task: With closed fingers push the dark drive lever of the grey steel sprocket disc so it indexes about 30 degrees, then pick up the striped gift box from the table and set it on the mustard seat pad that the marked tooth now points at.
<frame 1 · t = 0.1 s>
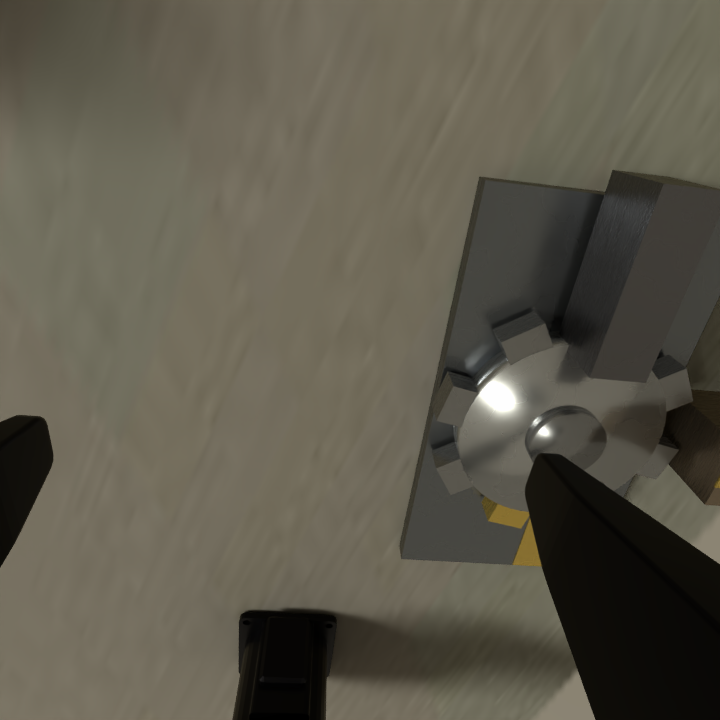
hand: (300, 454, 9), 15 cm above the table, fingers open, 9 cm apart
sprocket: (584, 390, 23), point 3 cm above the table, hinge at 0.0°
striped gift box: (689, 417, 27), on the table
base plate: (541, 405, 27), on the table
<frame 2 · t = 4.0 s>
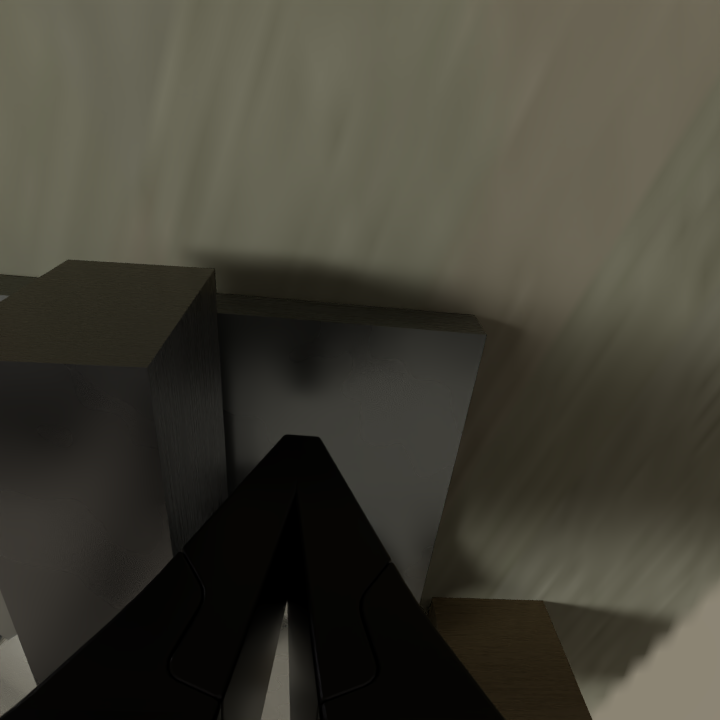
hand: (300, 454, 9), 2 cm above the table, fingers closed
sprocket: (168, 679, 11), point 3 cm above the table, hinge at 1.8°, touching gripper
striped gift box: (475, 633, 16), on the table
base plate: (207, 629, 15), on the table
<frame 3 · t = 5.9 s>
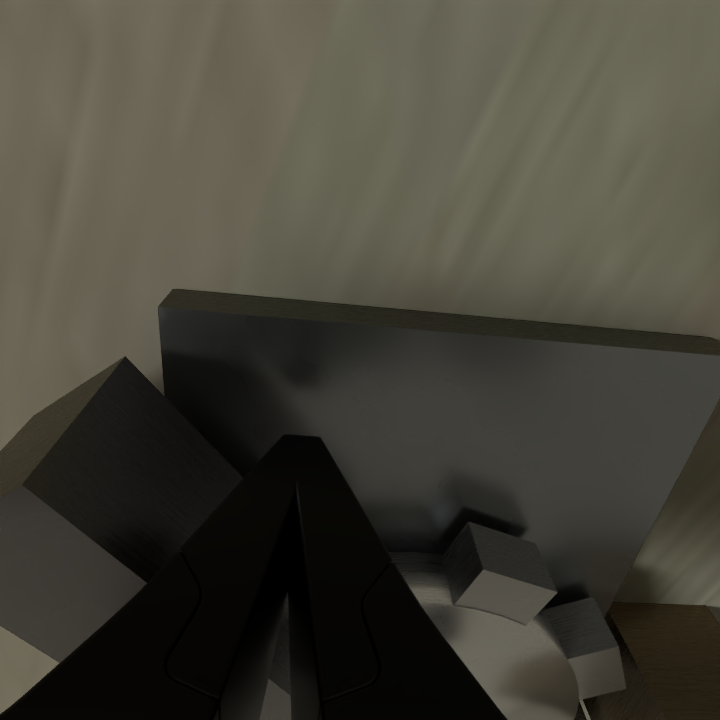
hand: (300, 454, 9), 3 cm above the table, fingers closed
sprocket: (337, 693, 12), point 3 cm above the table, hinge at 38.3°, touching gripper
striped gift box: (634, 637, 17), on the table
base plate: (385, 631, 16), on the table
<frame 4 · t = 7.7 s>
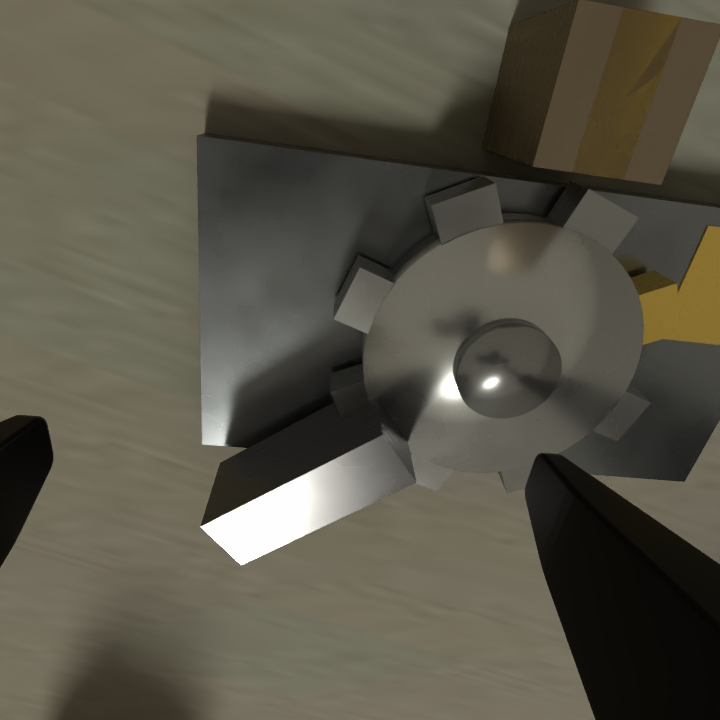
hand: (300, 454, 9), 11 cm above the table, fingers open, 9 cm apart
sprocket: (433, 406, 18), point 3 cm above the table, hinge at 38.3°
striped gift box: (546, 98, 16), on the table
base plate: (482, 332, 20), on the table
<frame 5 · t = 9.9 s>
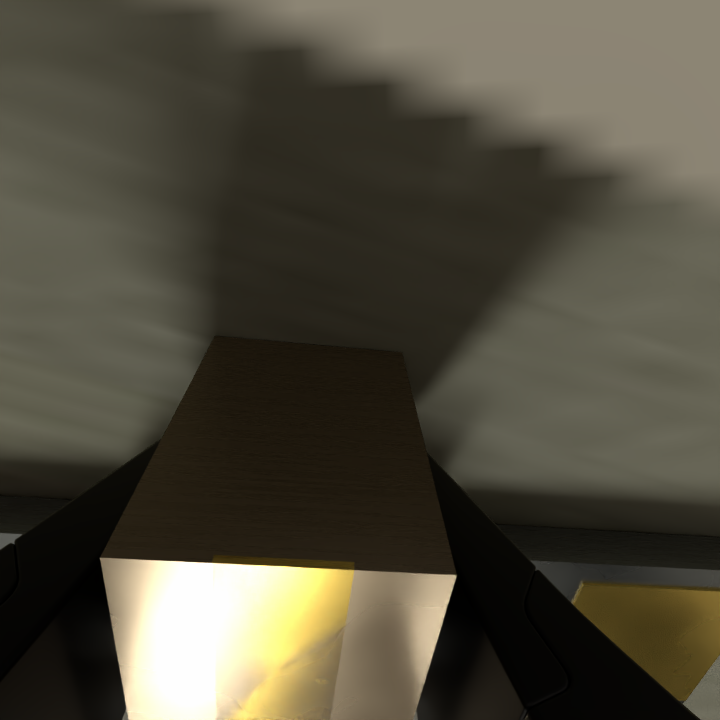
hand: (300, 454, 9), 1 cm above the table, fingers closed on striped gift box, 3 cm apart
striped gift box: (303, 421, 10), on the table, touching gripper
base plate: (284, 670, 14), on the table
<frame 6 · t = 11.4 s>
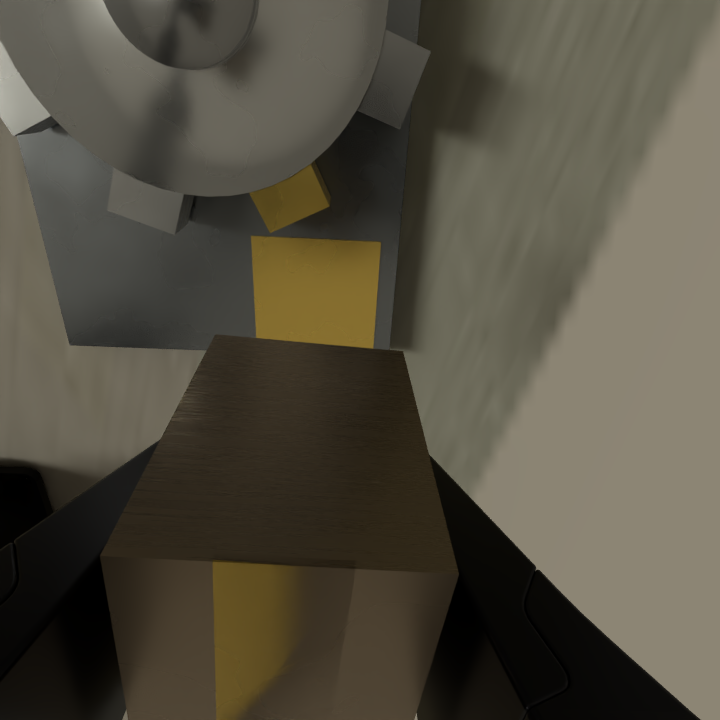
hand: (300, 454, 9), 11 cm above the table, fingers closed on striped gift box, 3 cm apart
striped gift box: (304, 420, 10), point 10 cm above the table, touching gripper
base plate: (212, 2, 15), on the table
when the fingers open (3 cm above the table, at t = 13.3 s): striped gift box stays where it is, resting on base plate.
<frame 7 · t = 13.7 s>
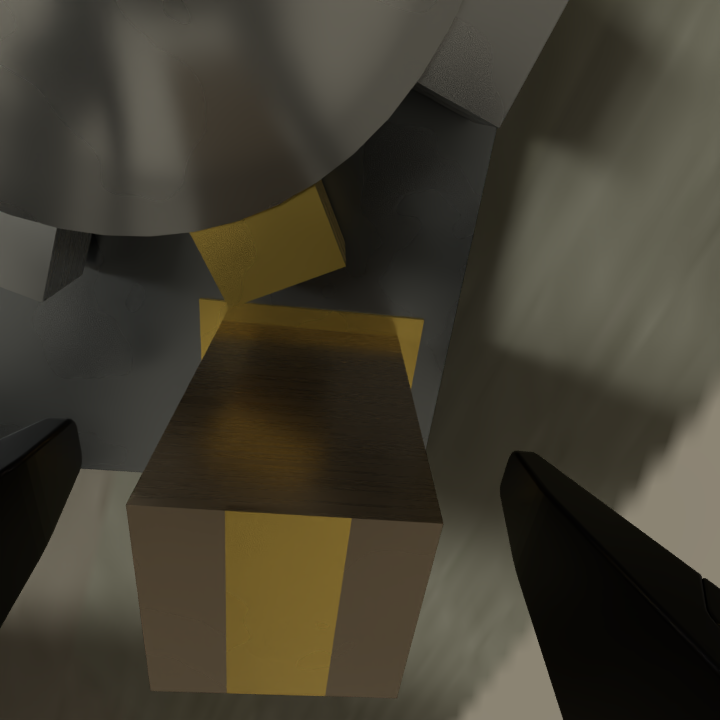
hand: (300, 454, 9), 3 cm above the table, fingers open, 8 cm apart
striped gift box: (305, 402, 11), point 1 cm above the table, touching base plate
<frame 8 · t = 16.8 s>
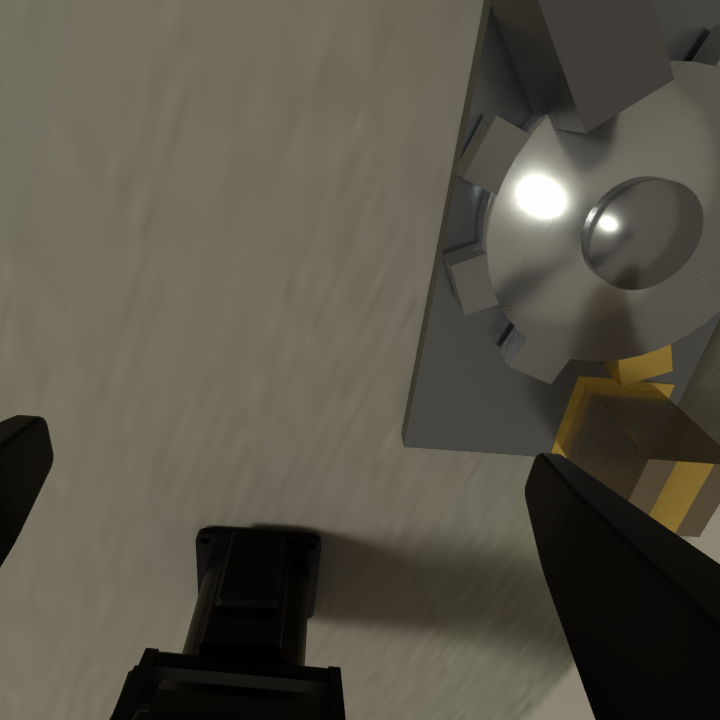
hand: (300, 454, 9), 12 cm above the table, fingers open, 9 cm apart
sprocket: (613, 156, 15), point 3 cm above the table, hinge at 38.3°
striped gift box: (610, 421, 23), point 1 cm above the table, touching base plate
base plate: (597, 215, 19), on the table
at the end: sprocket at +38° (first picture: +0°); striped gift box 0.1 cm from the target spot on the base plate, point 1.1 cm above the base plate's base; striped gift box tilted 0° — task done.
